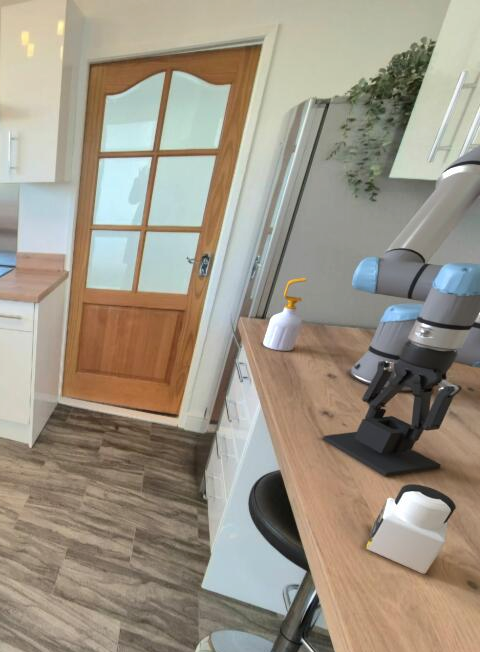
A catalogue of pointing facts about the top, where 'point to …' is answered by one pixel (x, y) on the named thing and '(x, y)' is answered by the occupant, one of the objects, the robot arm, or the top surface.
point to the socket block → (381, 433)
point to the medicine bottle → (412, 527)
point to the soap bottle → (284, 324)
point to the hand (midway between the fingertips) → (383, 442)
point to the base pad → (381, 456)
